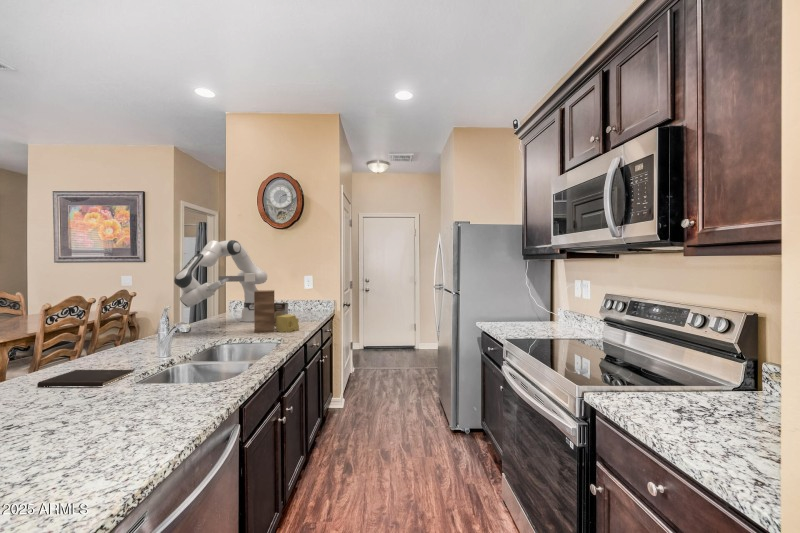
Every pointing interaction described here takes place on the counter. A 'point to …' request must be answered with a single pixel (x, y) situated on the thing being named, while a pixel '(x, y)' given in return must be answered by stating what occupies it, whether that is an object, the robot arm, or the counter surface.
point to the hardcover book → (85, 378)
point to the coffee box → (280, 310)
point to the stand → (263, 311)
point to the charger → (239, 278)
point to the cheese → (287, 323)
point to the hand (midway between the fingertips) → (229, 278)
